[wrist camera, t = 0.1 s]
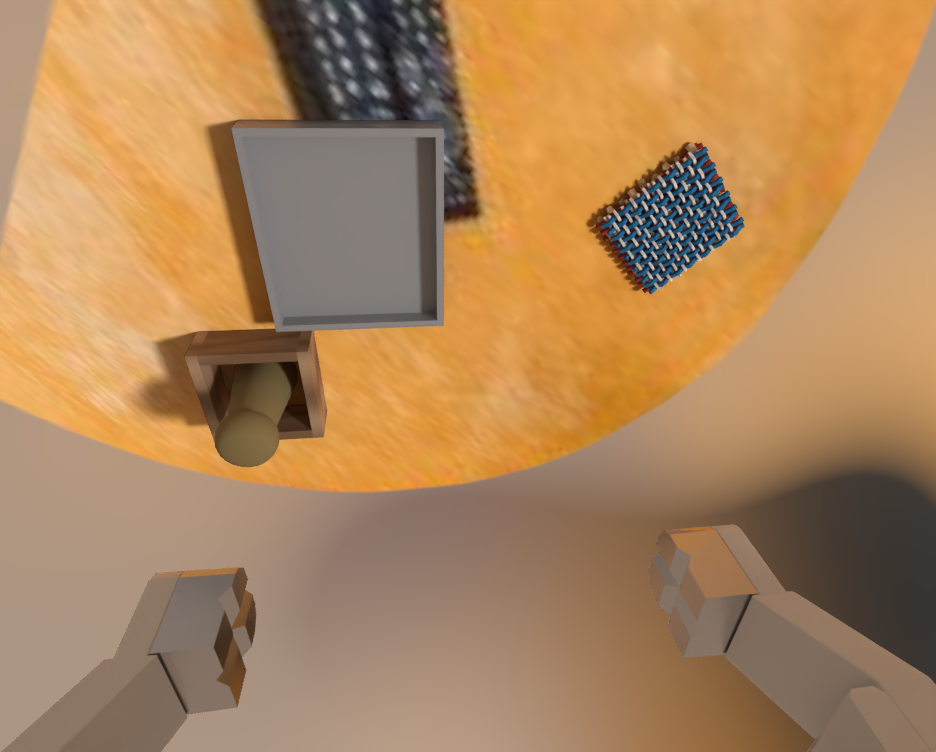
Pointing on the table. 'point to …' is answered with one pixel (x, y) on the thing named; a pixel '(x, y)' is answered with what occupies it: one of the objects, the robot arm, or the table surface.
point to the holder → (258, 348)
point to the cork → (255, 412)
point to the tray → (347, 220)
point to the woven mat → (672, 220)
